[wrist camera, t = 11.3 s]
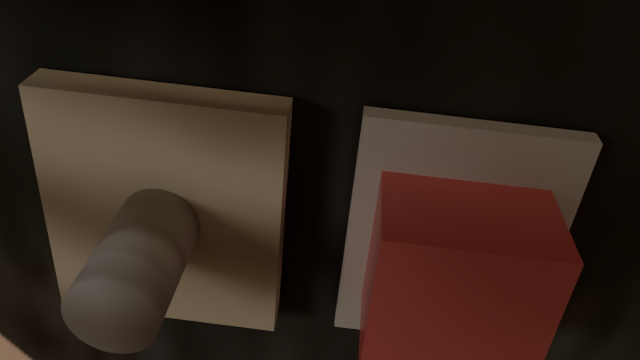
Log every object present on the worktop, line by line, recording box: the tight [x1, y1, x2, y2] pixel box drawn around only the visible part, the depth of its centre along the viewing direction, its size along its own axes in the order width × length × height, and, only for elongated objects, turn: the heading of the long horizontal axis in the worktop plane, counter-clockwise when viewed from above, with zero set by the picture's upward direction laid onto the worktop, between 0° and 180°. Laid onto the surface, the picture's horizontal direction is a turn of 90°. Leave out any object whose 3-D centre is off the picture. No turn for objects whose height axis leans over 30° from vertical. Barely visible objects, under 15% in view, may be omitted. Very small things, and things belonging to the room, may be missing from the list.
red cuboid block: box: [359, 171, 584, 360], centre depth 21 cm, size 6×6×4 cm
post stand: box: [18, 68, 293, 353], centre depth 21 cm, size 10×9×6 cm
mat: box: [334, 106, 603, 329], centre depth 23 cm, size 10×8×1 cm
